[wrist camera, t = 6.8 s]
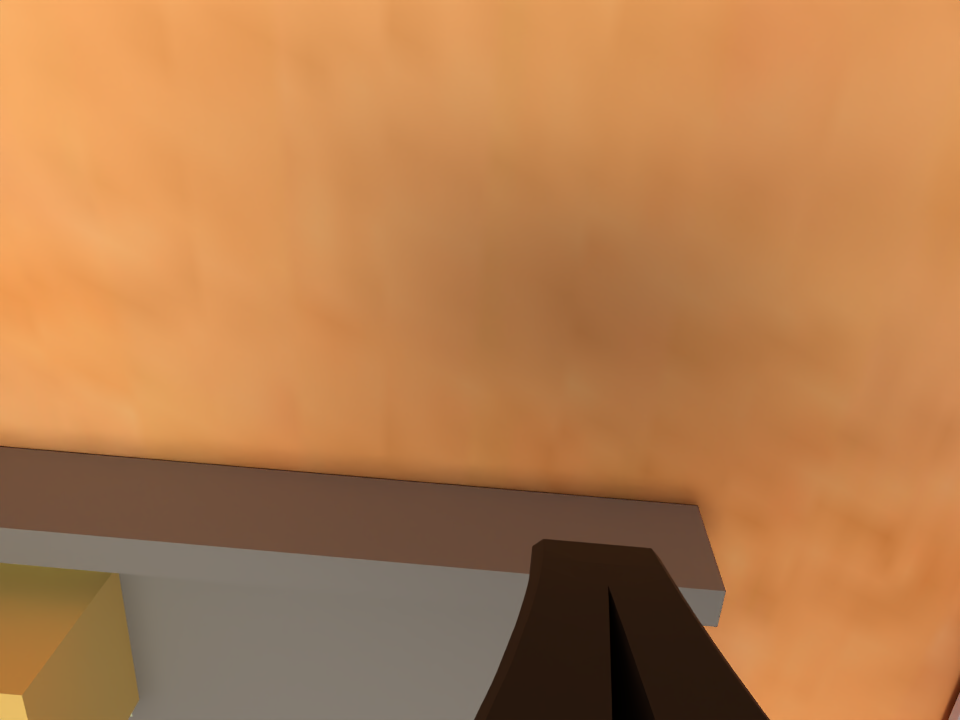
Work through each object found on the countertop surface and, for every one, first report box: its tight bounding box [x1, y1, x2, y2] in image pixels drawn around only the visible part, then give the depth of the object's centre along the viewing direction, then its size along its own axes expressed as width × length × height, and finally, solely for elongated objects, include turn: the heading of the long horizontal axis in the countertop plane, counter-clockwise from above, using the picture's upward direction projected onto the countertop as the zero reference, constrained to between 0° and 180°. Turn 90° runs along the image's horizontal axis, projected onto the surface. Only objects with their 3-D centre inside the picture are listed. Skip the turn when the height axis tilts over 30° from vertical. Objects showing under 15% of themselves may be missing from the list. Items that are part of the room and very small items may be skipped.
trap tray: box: [0, 447, 726, 720], centre depth 22 cm, size 20×14×3 cm
